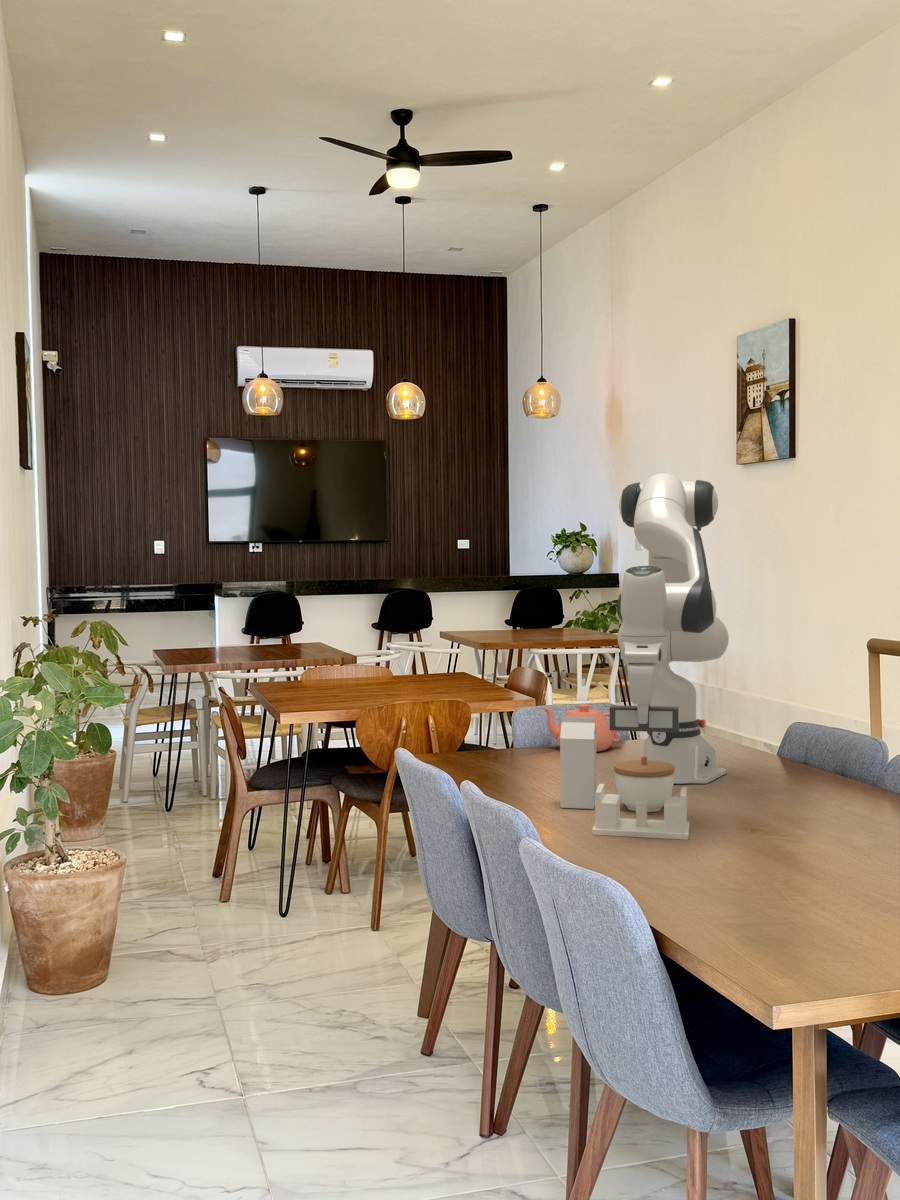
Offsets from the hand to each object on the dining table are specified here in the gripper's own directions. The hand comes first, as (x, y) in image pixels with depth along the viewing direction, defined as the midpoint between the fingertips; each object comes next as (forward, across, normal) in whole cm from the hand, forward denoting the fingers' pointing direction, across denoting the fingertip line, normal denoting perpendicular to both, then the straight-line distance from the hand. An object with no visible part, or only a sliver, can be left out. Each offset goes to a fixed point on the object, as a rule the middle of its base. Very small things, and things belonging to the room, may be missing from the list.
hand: (643, 721), depth 210 cm
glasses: (+2, 0, 0) cm, 2 cm away
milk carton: (+22, -19, -15) cm, 32 cm away
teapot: (+21, -86, -22) cm, 91 cm away
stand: (+21, 0, 0) cm, 21 cm away
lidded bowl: (+22, -19, -1) cm, 29 cm away
